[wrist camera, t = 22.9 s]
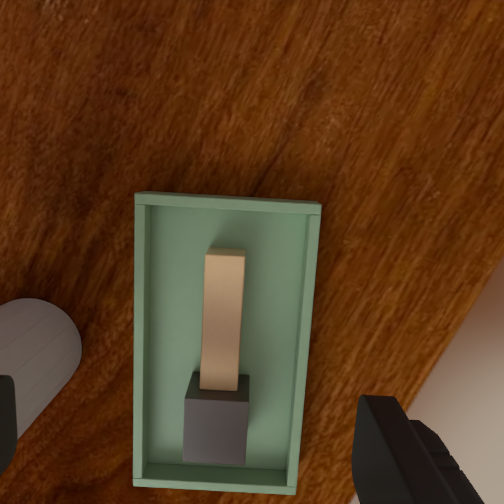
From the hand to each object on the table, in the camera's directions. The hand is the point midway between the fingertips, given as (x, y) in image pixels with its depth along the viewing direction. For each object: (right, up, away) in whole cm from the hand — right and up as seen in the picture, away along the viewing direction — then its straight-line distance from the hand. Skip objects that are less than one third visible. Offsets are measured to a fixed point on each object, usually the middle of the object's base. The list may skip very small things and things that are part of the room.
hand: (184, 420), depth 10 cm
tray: (0, -2, +17) cm, 17 cm away
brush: (0, -2, +17) cm, 17 cm away
